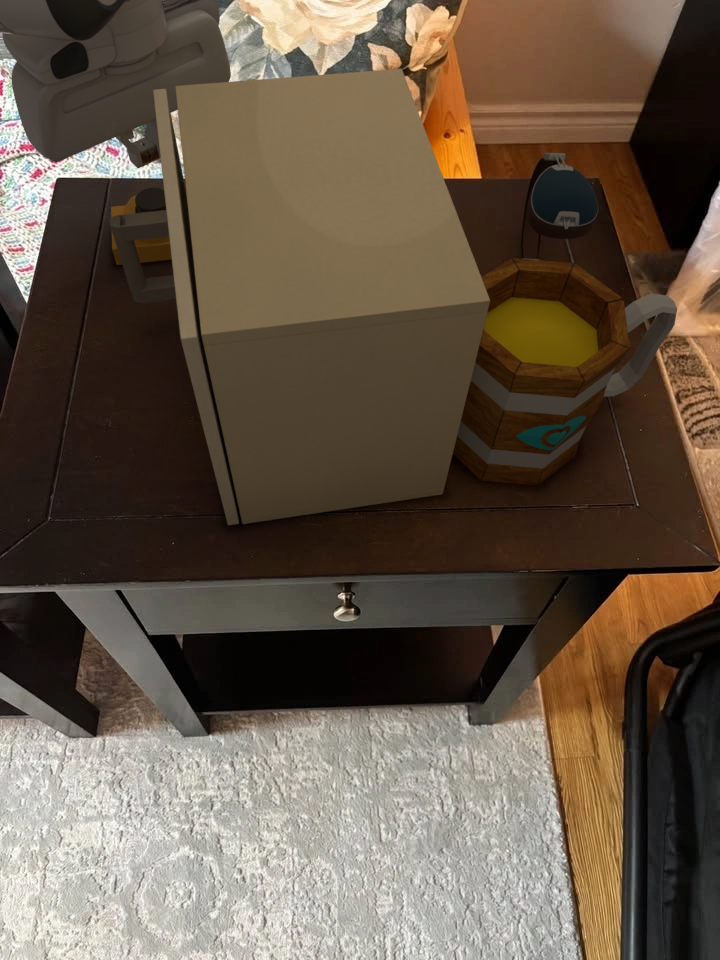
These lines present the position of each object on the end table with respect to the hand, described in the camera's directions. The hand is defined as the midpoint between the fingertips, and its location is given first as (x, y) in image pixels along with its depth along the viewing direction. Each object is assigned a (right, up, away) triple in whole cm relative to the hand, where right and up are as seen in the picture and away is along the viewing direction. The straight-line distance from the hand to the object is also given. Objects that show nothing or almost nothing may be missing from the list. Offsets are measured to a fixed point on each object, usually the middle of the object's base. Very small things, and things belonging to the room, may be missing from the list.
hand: (147, 160), depth 75 cm
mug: (+38, -26, -3) cm, 47 cm away
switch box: (-1, -5, +9) cm, 10 cm away
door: (+5, -26, -4) cm, 26 cm away
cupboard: (+18, -24, -2) cm, 30 cm away
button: (-1, -3, +5) cm, 6 cm away
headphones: (+40, -13, +5) cm, 42 cm away
